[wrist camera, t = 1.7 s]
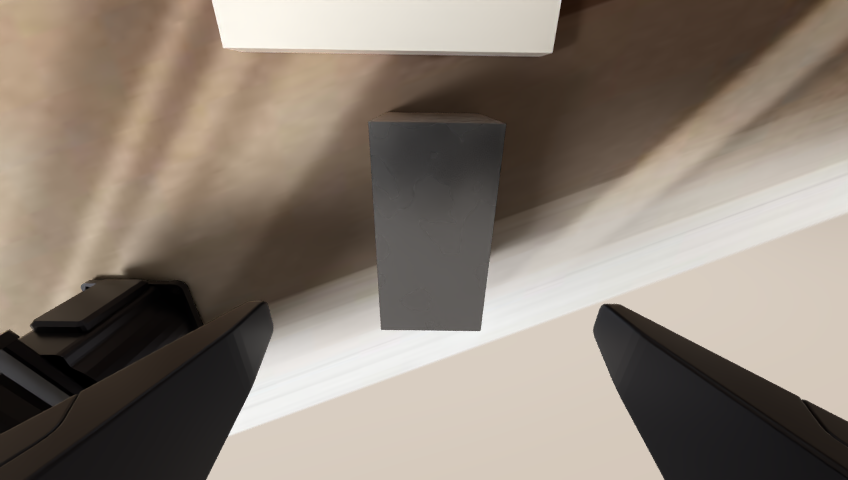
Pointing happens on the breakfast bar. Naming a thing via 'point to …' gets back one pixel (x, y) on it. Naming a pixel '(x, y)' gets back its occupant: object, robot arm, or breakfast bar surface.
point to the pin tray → (390, 26)
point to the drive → (434, 216)
